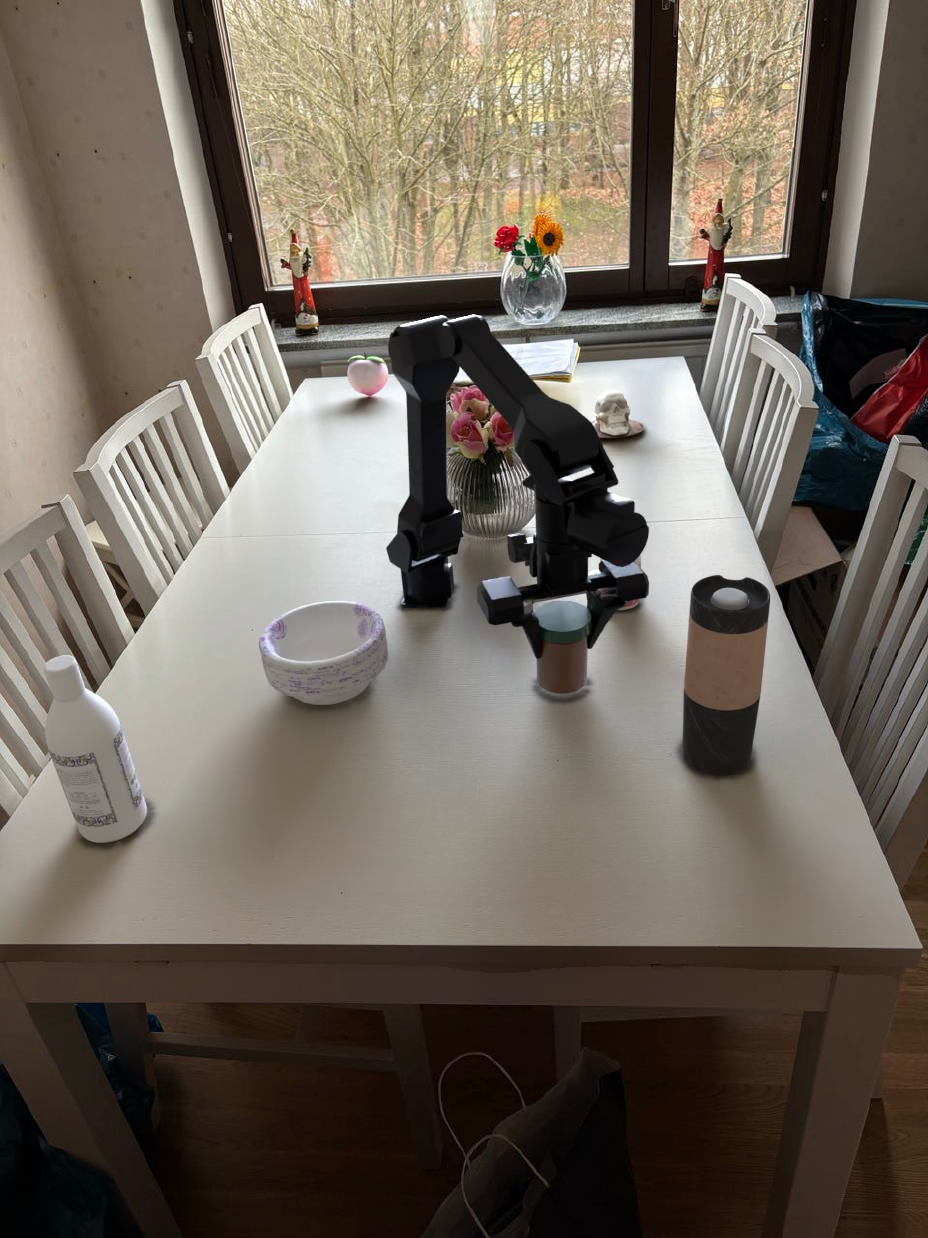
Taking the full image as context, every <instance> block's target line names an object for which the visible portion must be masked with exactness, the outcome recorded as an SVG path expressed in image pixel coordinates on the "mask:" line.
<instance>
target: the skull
mask: <svg viewBox="0 0 928 1238" xmlns="http://www.w3.org/2000/svg"><path fill="white" fill-rule="evenodd" d="M594 415H595V421H593V422H591V423H592V424H593V425H594V427H595V428H596V430H597V433H598V436H599V438H602V439H605V438H606V439H621V438H627V437H631V436H634V435H638V434H640V433H642V432H643V431H644V430H645V426H644V425H643V424H642V423H641V422H637V421H634V420H630V417H629V416H630V415H631V408H630V406H629V405H628V401H627V399H626V398H625V395H624V393H622V392H621V391H619V390H614V389H613V390H612V389H611V390H607V391H605V392H603V393H602V394H600V395H599V396H598V398H597V399H596V401H595V403H594Z"/></svg>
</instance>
